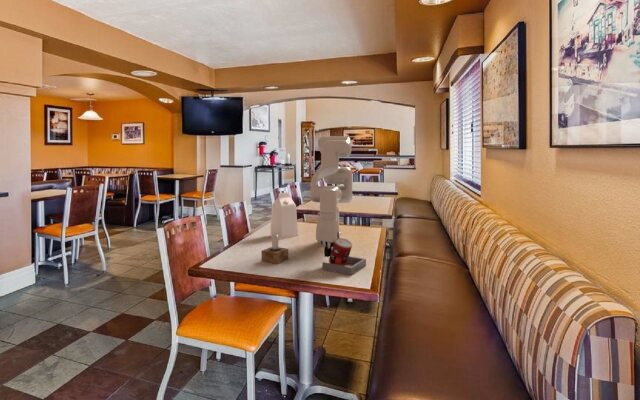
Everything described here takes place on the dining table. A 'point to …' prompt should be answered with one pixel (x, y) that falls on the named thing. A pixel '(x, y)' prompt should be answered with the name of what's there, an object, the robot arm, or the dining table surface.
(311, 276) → the dining table surface
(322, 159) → the robot arm
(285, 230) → the milk
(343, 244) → the canned food
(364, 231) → the dining table surface
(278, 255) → the block
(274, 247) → the pin
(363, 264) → the tray
